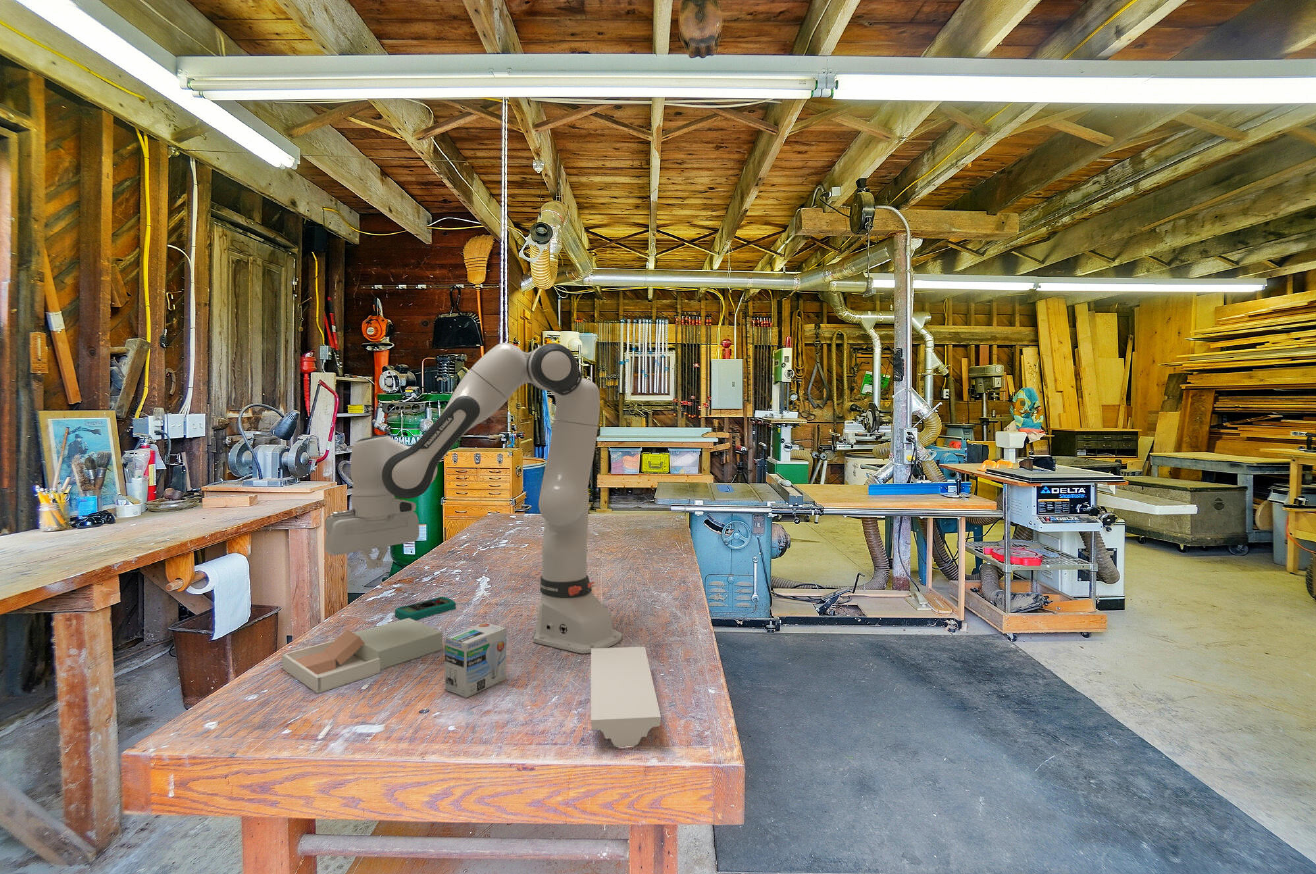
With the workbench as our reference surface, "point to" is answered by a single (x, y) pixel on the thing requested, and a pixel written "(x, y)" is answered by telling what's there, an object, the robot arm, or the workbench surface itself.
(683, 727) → the workbench surface
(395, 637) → the board
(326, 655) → the tile
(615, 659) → the beige molded block
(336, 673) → the tray
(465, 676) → the light bulb box
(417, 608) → the digital multimeter
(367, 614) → the workbench surface
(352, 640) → the tile
